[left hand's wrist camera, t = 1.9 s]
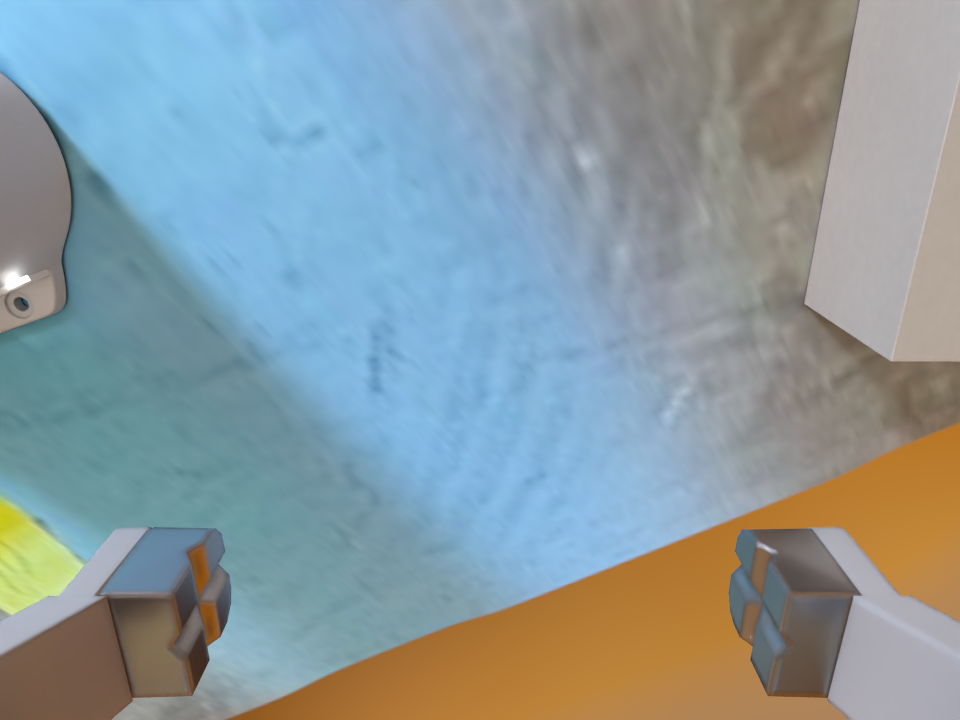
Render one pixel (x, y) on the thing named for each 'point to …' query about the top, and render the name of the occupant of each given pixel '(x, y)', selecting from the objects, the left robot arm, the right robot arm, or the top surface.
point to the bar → (895, 186)
